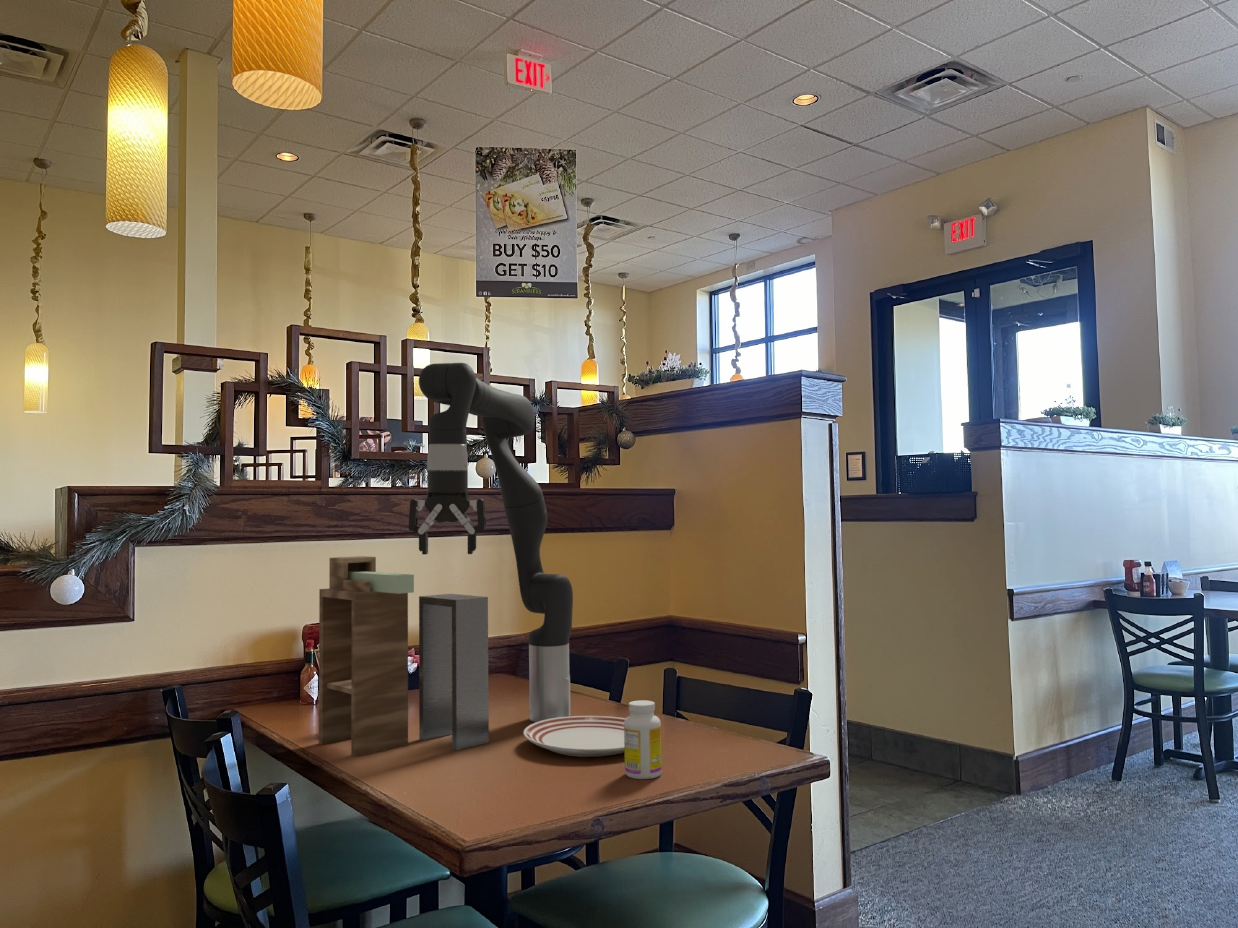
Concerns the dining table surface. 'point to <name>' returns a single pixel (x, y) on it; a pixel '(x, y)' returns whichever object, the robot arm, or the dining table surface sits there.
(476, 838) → the dining table surface
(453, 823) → the dining table surface
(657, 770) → the supplement bottle
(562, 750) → the dinner plate
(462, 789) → the dining table surface
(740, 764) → the dining table surface
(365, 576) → the bar
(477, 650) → the side stand
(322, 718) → the tunnel stand
